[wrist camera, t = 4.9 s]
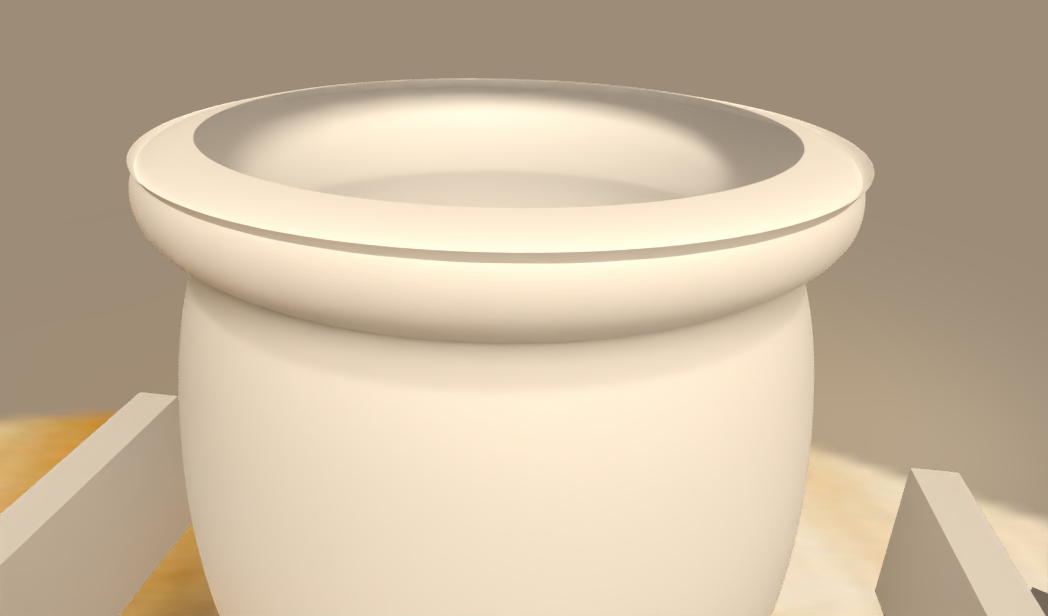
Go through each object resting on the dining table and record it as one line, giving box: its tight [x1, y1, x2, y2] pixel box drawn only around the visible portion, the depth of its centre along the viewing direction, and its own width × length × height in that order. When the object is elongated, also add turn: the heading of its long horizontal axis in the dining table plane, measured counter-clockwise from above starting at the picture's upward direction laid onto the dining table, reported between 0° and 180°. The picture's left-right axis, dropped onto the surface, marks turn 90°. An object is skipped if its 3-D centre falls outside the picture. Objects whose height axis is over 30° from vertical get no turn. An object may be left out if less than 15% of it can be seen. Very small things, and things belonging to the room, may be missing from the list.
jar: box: [127, 78, 874, 616], centre depth 15 cm, size 11×10×15 cm
